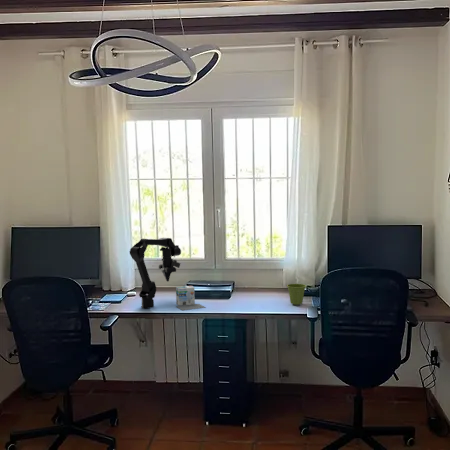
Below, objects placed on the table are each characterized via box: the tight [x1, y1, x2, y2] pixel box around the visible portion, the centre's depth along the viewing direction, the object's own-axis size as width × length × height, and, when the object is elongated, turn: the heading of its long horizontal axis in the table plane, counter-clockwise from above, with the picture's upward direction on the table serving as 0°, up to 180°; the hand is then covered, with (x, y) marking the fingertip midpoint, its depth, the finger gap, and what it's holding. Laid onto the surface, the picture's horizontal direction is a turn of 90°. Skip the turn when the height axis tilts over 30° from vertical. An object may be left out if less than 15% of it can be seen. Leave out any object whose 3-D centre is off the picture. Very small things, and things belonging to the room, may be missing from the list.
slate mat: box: [175, 303, 206, 311], centre depth 317 cm, size 15×11×1 cm
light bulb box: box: [175, 285, 196, 306], centre depth 325 cm, size 11×7×11 cm, turn 110°
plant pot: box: [286, 283, 307, 305], centre depth 320 cm, size 12×12×11 cm
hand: (167, 281), depth 334 cm, fingers closed
